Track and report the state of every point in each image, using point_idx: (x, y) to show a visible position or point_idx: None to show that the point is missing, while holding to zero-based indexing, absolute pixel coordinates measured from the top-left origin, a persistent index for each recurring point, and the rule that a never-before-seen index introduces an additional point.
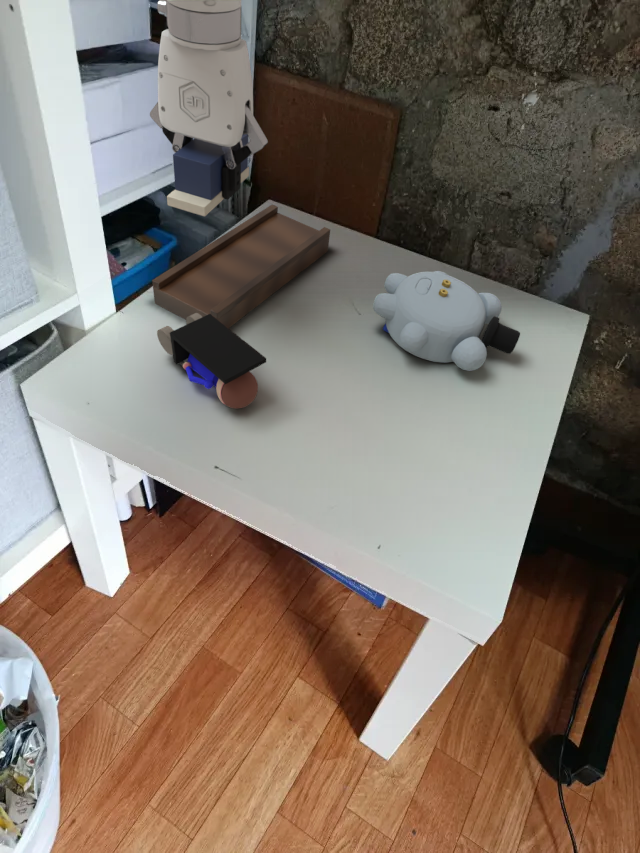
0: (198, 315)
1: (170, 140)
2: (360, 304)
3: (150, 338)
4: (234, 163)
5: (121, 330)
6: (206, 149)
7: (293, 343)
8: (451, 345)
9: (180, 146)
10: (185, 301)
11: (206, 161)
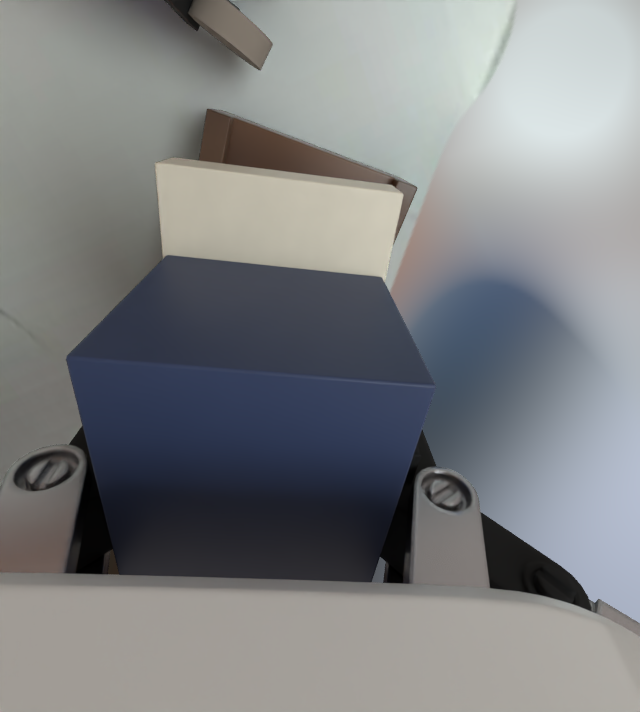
0: (225, 30)
1: (502, 534)
2: (19, 340)
3: (368, 35)
4: (6, 476)
5: (445, 39)
6: (240, 530)
7: (57, 159)
8: None
9: (422, 506)
10: (316, 154)
11: (131, 397)
